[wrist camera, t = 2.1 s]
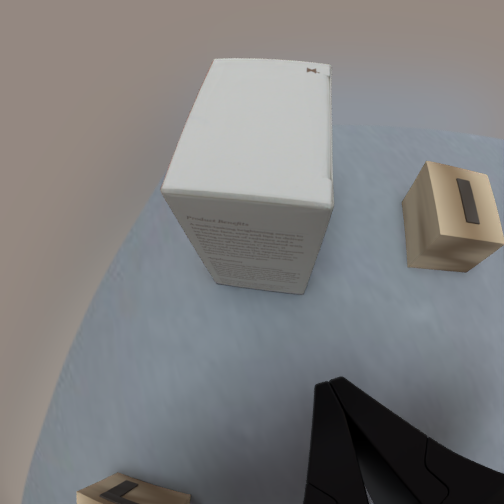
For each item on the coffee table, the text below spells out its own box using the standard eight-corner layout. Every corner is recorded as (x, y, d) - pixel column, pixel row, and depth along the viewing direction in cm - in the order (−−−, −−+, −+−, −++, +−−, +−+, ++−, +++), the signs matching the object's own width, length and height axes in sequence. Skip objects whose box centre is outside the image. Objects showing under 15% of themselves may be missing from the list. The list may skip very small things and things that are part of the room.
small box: (236, 179, 22) (212, 54, 12) (314, 187, 21) (332, 60, 12) (213, 286, 19) (152, 190, 9) (304, 298, 18) (335, 206, 9)
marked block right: (456, 210, 20) (487, 172, 15) (465, 272, 18) (506, 243, 13) (401, 201, 20) (426, 157, 16) (407, 267, 19) (441, 233, 14)
